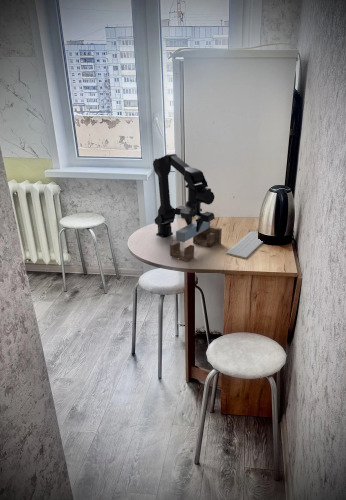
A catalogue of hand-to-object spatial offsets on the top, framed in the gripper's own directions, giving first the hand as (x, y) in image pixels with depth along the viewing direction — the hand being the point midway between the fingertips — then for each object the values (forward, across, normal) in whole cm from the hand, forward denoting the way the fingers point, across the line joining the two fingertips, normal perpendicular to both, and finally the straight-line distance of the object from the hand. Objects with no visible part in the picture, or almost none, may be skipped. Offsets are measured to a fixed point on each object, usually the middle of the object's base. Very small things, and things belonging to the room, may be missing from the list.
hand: (193, 230), depth 181 cm
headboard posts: (+10, 0, 0) cm, 10 cm away
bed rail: (+2, 0, 0) cm, 2 cm away
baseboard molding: (+11, +18, +21) cm, 29 cm away
